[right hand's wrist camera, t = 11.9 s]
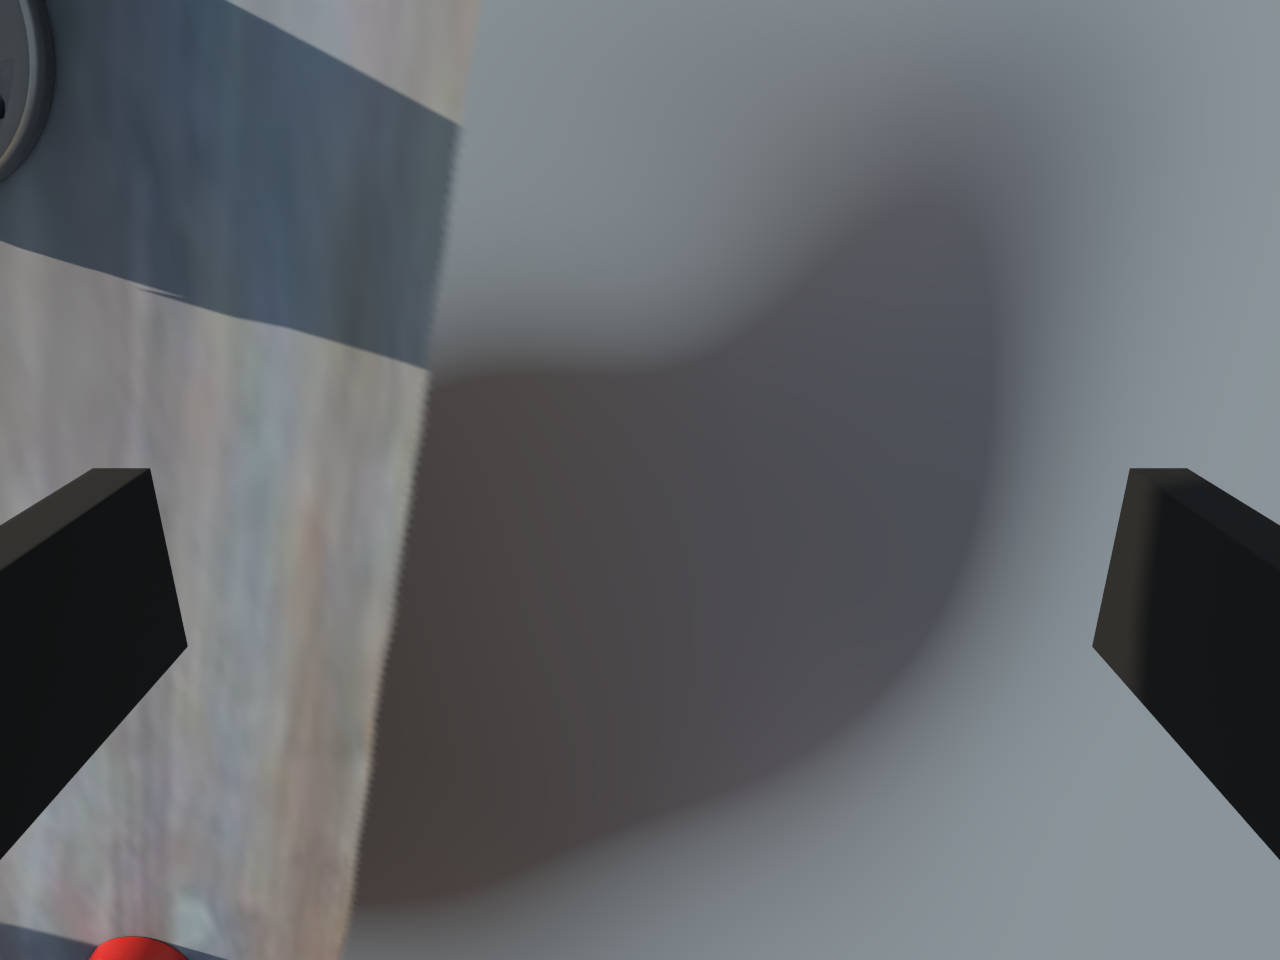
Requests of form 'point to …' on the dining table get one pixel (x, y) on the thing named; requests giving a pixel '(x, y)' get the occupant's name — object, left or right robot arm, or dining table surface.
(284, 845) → the dining table surface
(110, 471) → the right robot arm
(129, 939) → the red cylinder
